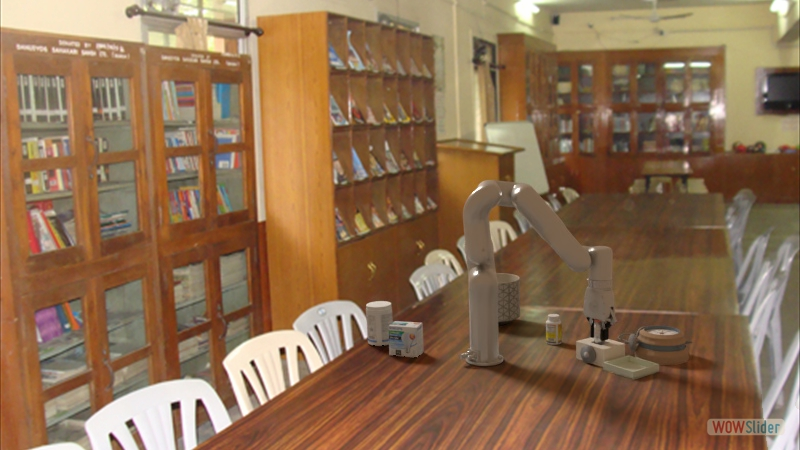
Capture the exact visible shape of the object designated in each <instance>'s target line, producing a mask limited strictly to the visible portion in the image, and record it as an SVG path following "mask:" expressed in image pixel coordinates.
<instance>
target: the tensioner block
mask: <svg viewBox="0 0 800 450" xmlns="http://www.w3.org/2000/svg"><path fill="white" fill-rule="evenodd" d="M624 356H626V344H625V342H620V341H617V340H613V339H610V338H609V339H608V340H605V344H604V345H598V344H595V343H594V338H591V337H588V338H584V339H583V338H582V339H579V340H575V357H576V359H577V360H579V361H582V362H584V363H586V364H590V365H591V364H592V365H595V366H597V367H601V368H603V362H606V361H610V360H613V359H617V358H620V357H624Z"/></svg>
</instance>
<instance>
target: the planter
mask: <svg viewBox="0 0 800 450" xmlns="http://www.w3.org/2000/svg"><path fill="white" fill-rule="evenodd" d="M496 275H497V279H498V327H499V326H504V325H507V324H509V323H511V322H513V321H514V320H517V319H519V318H520V317H521V279H520V276H519V275H516V274H511V273H507V272H506V273H501V272H496Z"/></svg>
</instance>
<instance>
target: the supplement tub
mask: <svg viewBox="0 0 800 450" xmlns="http://www.w3.org/2000/svg"><path fill="white" fill-rule="evenodd" d="M365 307H366V308H365V315H366V316H365V317H366V332H367V343H368V344H369V345H371V346H373V345H375V346H374V347H383V346H382V345H384V346H389V325H391V324H392V323H393V322H394V320H393V319H394V318H393V307H392V302H390V301H386V300H385V301H384V300H378V301H377V300H376V301H371V302H368V303H366V305H365Z"/></svg>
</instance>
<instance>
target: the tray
mask: <svg viewBox="0 0 800 450" xmlns="http://www.w3.org/2000/svg"><path fill="white" fill-rule="evenodd" d="M602 370H603V371H605V372H607V373H612V374H614V375H617V376H619V377H620V376H621V377H623V378H626V379H629V380H632V381H634V380H637V379H640V378H644V377H647V376H650V375H654V374H657V373H659V372H660V365H659V364H657V363H654V362H650V361H647V360H643V359H640V358H637V357H635V356H634V355H633V356H632V355H630V354H629V355H625V356H624V357H620V358H617V359H613V360H610V361H606V362H603V367H602Z"/></svg>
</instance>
